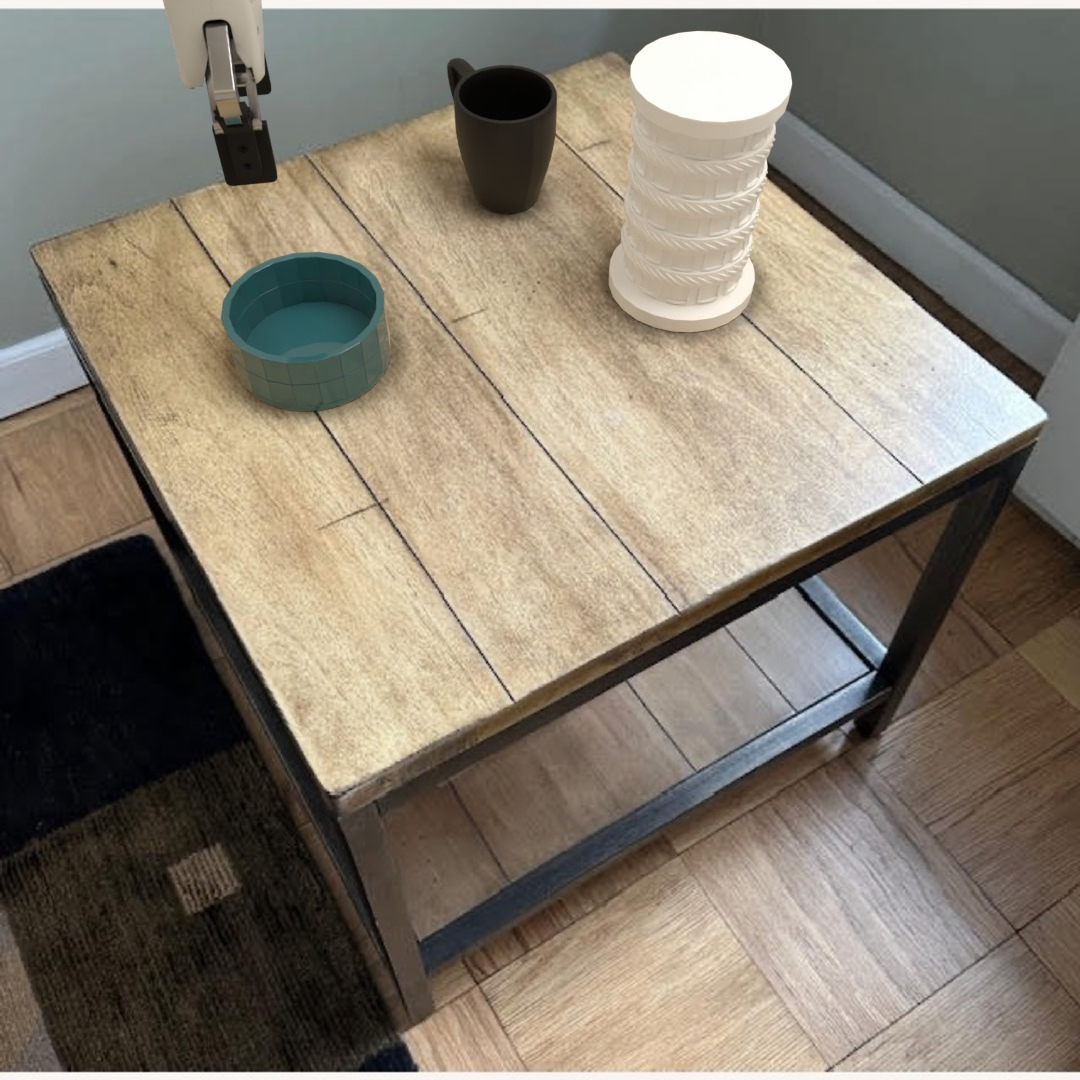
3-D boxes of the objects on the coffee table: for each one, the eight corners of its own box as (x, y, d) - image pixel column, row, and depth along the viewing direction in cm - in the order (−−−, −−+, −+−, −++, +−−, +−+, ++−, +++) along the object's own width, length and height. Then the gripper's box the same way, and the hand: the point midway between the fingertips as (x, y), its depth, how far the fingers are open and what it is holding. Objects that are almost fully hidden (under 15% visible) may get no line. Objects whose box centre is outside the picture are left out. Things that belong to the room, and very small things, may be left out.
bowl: (230, 416, 79) (214, 366, 75) (242, 306, 86) (228, 255, 82) (391, 407, 80) (384, 357, 76) (390, 298, 87) (383, 248, 83)
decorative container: (587, 252, 90) (599, 44, 75) (715, 223, 92) (750, 16, 78) (641, 347, 84) (665, 139, 69) (777, 313, 86) (828, 105, 71)
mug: (499, 132, 100) (497, 32, 92) (573, 203, 94) (577, 102, 86) (420, 162, 97) (411, 61, 89) (491, 236, 91) (488, 135, 83)
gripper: (119, -213, 62) (192, 68, 76) (104, -68, 52) (191, 225, 66) (253, -221, 63) (301, 59, 77) (263, -79, 53) (316, 213, 67)
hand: (250, 136), depth 72 cm, fingers open, 9 cm apart
